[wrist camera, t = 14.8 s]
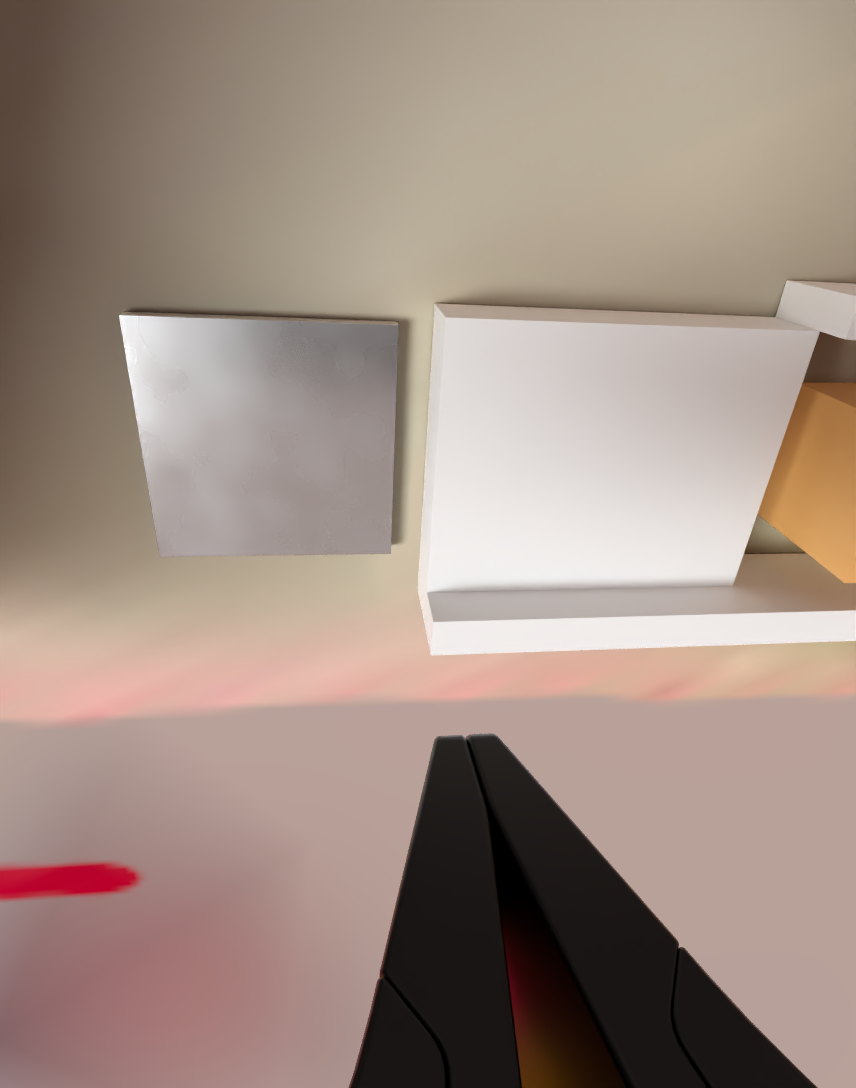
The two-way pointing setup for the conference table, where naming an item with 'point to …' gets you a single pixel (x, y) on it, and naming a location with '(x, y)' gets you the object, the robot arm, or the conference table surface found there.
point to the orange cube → (818, 478)
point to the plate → (265, 432)
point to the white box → (617, 478)
